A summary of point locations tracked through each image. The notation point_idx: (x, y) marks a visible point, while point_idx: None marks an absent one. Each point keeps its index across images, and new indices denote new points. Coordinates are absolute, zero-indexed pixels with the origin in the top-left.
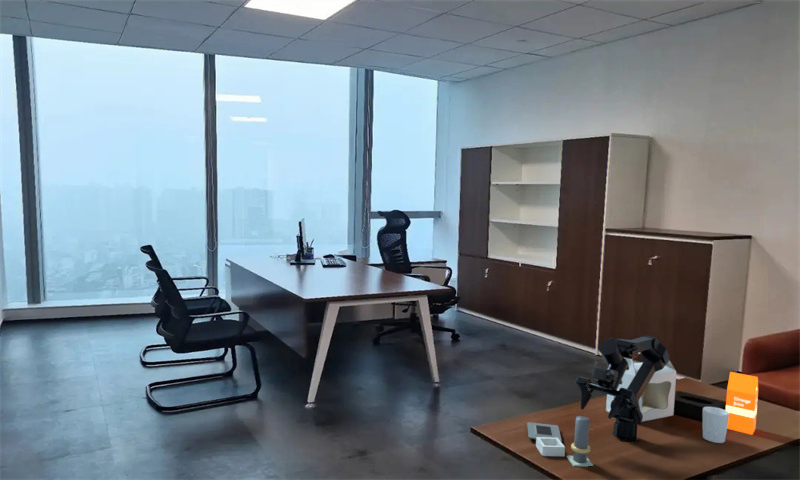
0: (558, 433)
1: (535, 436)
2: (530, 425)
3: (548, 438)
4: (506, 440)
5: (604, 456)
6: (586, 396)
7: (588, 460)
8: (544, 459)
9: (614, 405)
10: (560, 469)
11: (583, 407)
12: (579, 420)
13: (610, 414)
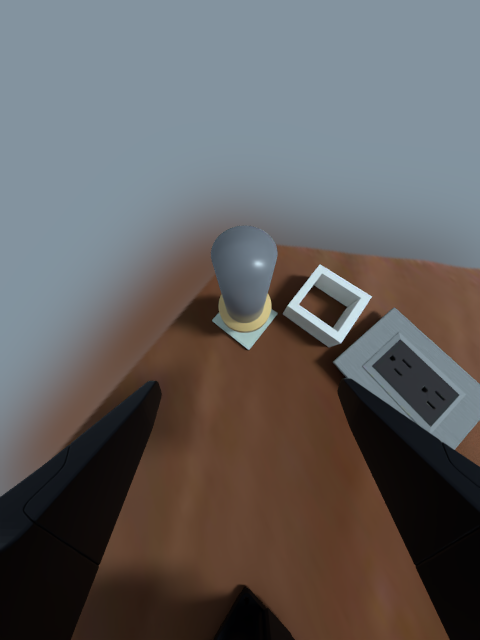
0: None
1: (390, 325)
2: (466, 383)
3: (349, 315)
4: (414, 277)
5: (221, 399)
6: (439, 512)
7: (230, 332)
8: (297, 268)
9: (65, 468)
10: None
11: (346, 401)
12: (242, 227)
13: (136, 393)
